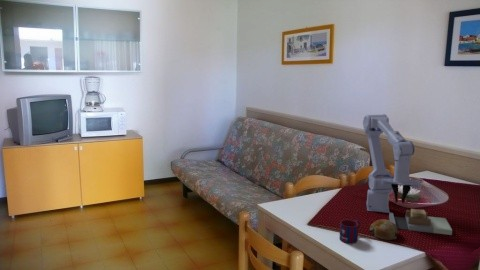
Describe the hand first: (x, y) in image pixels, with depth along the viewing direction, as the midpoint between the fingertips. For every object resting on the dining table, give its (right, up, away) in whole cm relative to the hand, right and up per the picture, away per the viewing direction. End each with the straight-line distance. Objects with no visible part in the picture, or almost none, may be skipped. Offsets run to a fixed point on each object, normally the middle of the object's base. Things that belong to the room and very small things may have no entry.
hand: (399, 201), depth 155 cm
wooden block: (+7, -8, -1) cm, 11 cm away
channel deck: (+7, -10, 0) cm, 12 cm away
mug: (-24, -12, -12) cm, 29 cm away
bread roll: (-10, -12, -8) cm, 18 cm away
